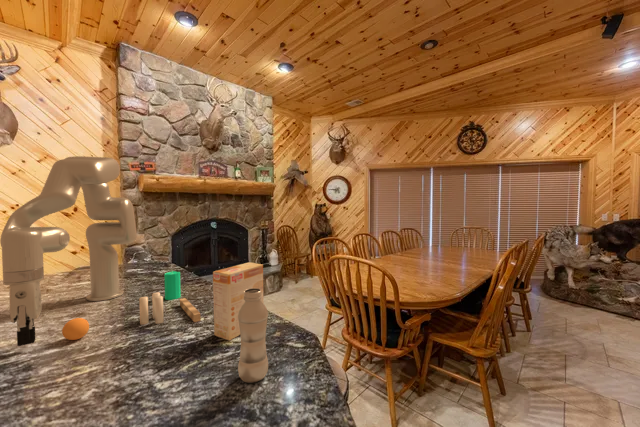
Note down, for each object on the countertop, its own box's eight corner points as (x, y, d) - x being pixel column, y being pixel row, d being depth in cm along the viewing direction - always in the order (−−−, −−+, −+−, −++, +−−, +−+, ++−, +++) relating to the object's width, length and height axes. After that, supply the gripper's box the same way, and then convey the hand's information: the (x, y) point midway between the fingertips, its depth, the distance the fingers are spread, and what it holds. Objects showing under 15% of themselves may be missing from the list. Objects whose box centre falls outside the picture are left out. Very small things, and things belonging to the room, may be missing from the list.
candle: (174, 300, 115) (173, 271, 114) (161, 299, 116) (160, 270, 115) (183, 295, 121) (183, 267, 120) (171, 294, 122) (171, 267, 121)
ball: (63, 338, 83) (62, 318, 82) (89, 332, 86) (89, 313, 86) (61, 346, 78) (60, 325, 78) (89, 339, 82) (88, 319, 82)
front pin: (139, 322, 93) (138, 297, 93) (147, 320, 95) (147, 296, 94) (140, 325, 91) (139, 299, 91) (149, 323, 93) (148, 297, 92)
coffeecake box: (249, 317, 97) (248, 261, 96) (264, 322, 93) (264, 264, 93) (212, 335, 84) (211, 270, 83) (229, 341, 81) (228, 274, 80)
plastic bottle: (241, 370, 66) (239, 286, 66) (270, 368, 67) (269, 285, 66) (235, 388, 60) (233, 295, 59) (267, 386, 61) (266, 294, 60)
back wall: (179, 305, 109) (179, 299, 109) (185, 304, 110) (185, 297, 110) (194, 322, 93) (194, 314, 93) (200, 320, 95) (200, 313, 95)
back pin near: (154, 322, 94) (154, 296, 93) (162, 320, 95) (162, 295, 95) (155, 324, 92) (155, 298, 92) (164, 322, 93) (163, 297, 93)
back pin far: (152, 317, 98) (151, 293, 97) (160, 315, 99) (159, 291, 99) (153, 319, 96) (152, 295, 95) (161, 317, 97) (160, 293, 97)
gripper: (39, 279, 72) (42, 349, 72) (47, 269, 83) (49, 330, 84) (-5, 284, 67) (-2, 360, 67) (9, 273, 79) (12, 337, 79)
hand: (26, 343), depth 76 cm, fingers closed
